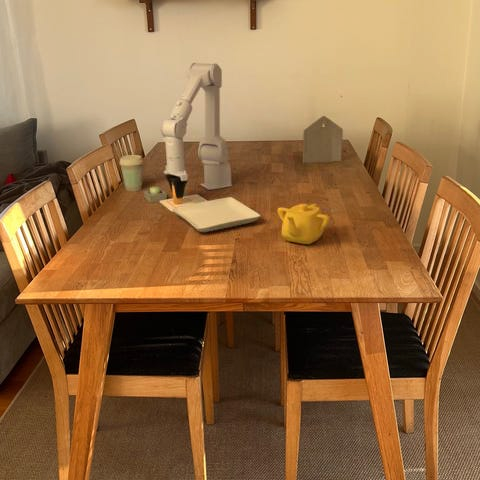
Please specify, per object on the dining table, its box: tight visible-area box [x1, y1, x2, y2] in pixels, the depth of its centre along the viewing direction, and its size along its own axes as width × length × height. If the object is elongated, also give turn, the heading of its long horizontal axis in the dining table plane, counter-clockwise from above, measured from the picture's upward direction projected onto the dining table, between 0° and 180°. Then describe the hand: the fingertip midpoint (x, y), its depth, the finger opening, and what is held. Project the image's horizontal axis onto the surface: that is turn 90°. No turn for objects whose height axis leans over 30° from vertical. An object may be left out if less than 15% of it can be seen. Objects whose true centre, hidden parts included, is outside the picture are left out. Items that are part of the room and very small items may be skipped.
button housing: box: [143, 188, 168, 203], centre depth 199 cm, size 6×6×2 cm
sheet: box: [159, 193, 208, 213], centre depth 194 cm, size 14×12×1 cm
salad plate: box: [173, 196, 261, 233], centre depth 178 cm, size 21×21×3 cm
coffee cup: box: [119, 154, 144, 193], centre depth 209 cm, size 8×8×12 cm
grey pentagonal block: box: [302, 115, 344, 164], centre depth 241 cm, size 16×8×19 cm, turn 94°
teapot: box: [277, 203, 331, 245], centre depth 161 cm, size 14×13×10 cm
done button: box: [149, 186, 161, 195], centre depth 199 cm, size 3×3×3 cm
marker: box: [172, 183, 182, 204], centre depth 192 cm, size 3×3×7 cm
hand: (177, 196), depth 192 cm, fingers closed on marker, 3 cm apart
